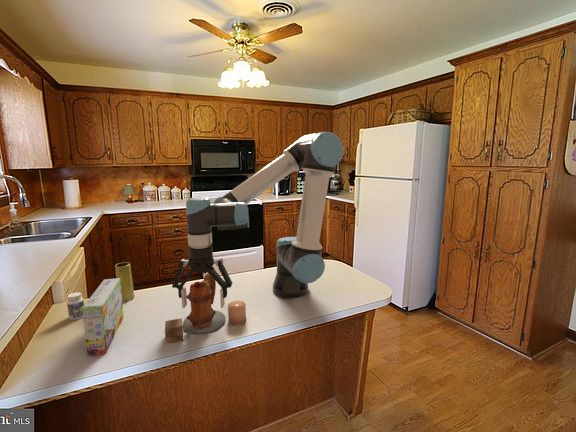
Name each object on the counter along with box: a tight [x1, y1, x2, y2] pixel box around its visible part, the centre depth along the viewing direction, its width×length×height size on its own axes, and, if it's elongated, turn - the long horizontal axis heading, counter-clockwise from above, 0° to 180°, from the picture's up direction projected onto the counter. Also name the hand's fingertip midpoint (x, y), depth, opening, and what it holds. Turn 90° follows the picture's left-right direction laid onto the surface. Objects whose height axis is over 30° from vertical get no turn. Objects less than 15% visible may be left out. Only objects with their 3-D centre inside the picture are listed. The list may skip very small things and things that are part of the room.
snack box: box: [82, 277, 125, 357], centre depth 95 cm, size 21×6×15 cm, turn 17°
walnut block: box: [164, 317, 184, 345], centre depth 94 cm, size 5×5×5 cm
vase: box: [114, 261, 135, 303], centre depth 119 cm, size 6×6×14 cm
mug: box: [186, 273, 217, 328], centre depth 101 cm, size 15×8×15 cm, turn 169°
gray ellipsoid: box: [182, 309, 226, 335], centre depth 103 cm, size 14×14×1 cm
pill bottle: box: [66, 291, 85, 321], centre depth 106 cm, size 5×5×8 cm
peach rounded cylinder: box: [227, 300, 247, 326], centre depth 104 cm, size 6×6×6 cm
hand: (203, 306), depth 102 cm, fingers open, 12 cm apart
